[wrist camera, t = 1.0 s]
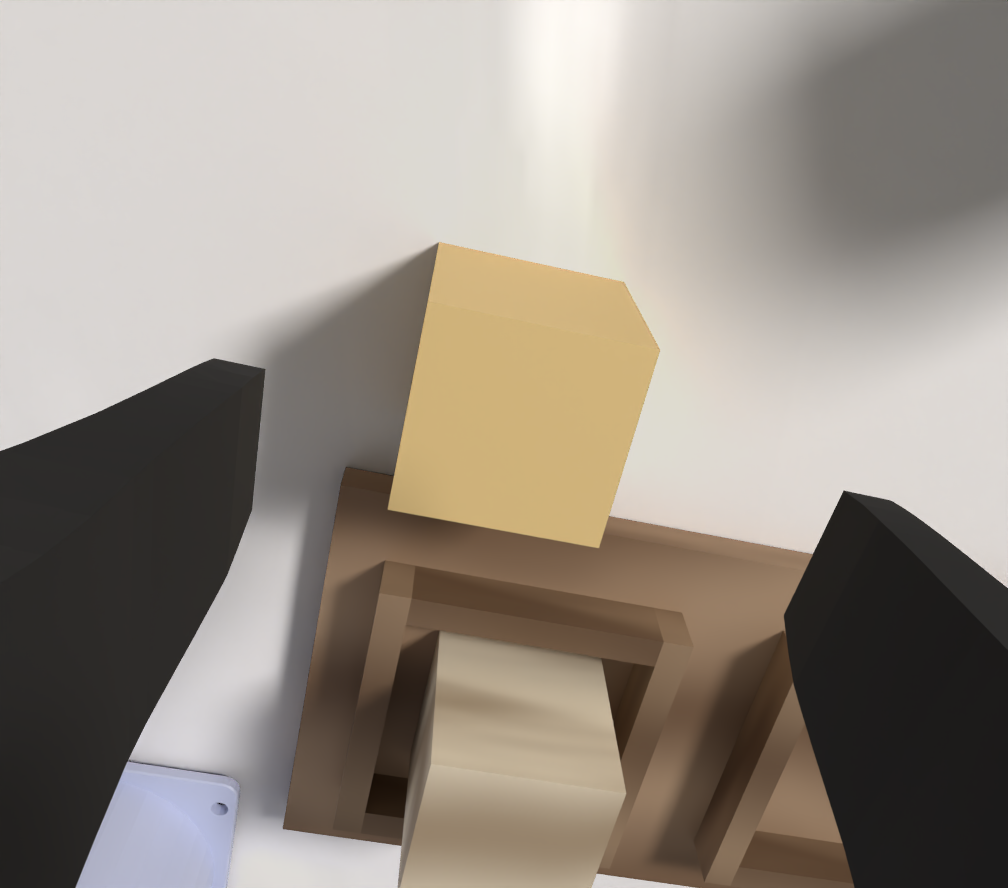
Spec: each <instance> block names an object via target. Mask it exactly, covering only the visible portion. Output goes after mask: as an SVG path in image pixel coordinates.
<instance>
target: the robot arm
mask: <svg viewBox="0 0 1008 888" xmlns="http://www.w3.org/2000/svg"><path fill="white" fill-rule="evenodd" d="M264 377H265V369H262V368H257V367H252V366H248V365H243V364H238V363H233V362H228V361H224V360H219V359H211V360H209V361H206V362H203V363H201V364H199V365H197V366H194V367H192V368H190V369H188V370H186V371H184V372H182V373H180V374H178V375H176V376H174V377H171V378H169V379H167V380H165V381H163V382H161V383H159V384H157V385H155V386H153V387H151V388H149V389H147V390H145V391H142V392H140V393H138V394H136V395H134V396H132V397H130V398H128V399H125V400H123V401H121V402H119V403H117V404H115V405H113V406H111V407H108V408H106V409H104V410H102V411H100V412H98V413H95V414H93V415H90V416H88V417H86V418H83V419H81V420H78V421H76V422H73V423H71V424H68V425H66V426H64V427H61V428H59V429H56V430H54V431H51V432H49V433H46V434H44V435H41V436H39V437H37V438H34V439H32V440H29V441H27V442H24V443H22V444H19V445H16V446H13V447H11V448H8V449H5V450H2V451H0V888H227V883H228V876H229V869H230V862H231V855H232V847H233V840H234V833H235V826H236V819H237V811H238V804H239V797H240V786H239V784H238V783H237V781H235V780H234V779H232V778H230V777H227V776H221V775H214V774H207V773H201V772H194V771H187V770H180V769H173V768H167V767H160V766H153V765H146V764H139V763H133V762H127V761H128V759H129V757H130V755H131V753H132V751H133V749H134V747H135V745H136V743H137V741H138V739H139V737H140V735H141V733H142V731H143V729H144V727H145V724H146V723H147V721H148V719H149V717H150V715H151V713H152V712H153V710H154V708H155V706H156V704H157V703H158V701H159V699H160V697H161V695H162V694H163V692H164V690H165V688H166V686H167V684H168V683H169V681H170V679H171V677H172V675H173V674H174V672H175V670H176V668H177V666H178V665H179V663H180V661H181V659H182V657H183V656H184V654H185V652H186V650H187V648H188V646H189V645H190V643H191V641H192V639H193V637H194V636H195V634H196V632H197V630H198V628H199V627H200V625H201V623H202V621H203V619H204V617H205V615H206V614H207V612H208V610H209V608H210V606H211V604H212V603H213V601H214V599H215V597H216V595H217V593H218V592H219V590H220V588H221V586H222V584H223V582H224V580H225V578H226V576H227V574H228V571H229V569H230V566H231V564H232V561H233V559H234V556H235V553H236V551H237V548H238V546H239V543H240V540H241V538H242V535H243V532H244V530H245V527H246V524H247V521H248V519H249V516H250V513H251V511H252V502H253V492H254V481H255V471H256V461H257V450H258V440H259V429H260V419H261V409H262V398H263V388H264ZM784 623H785V631H786V639H787V647H788V654H789V660H790V666H791V672H792V678H793V684H794V688H795V691H796V695H797V698H798V702H799V705H800V709H801V712H802V715H803V719H804V722H805V725H806V729H807V732H808V735H809V738H810V742H811V745H812V748H813V751H814V754H815V758H816V761H817V764H818V767H819V770H820V774H821V777H822V780H823V783H824V786H825V789H826V793H827V796H828V799H829V802H830V805H831V808H832V812H833V815H834V818H835V821H836V824H837V828H838V831H839V834H840V837H841V840H842V843H843V847H844V850H845V854H846V857H847V861H848V865H849V869H850V872H851V876H852V880H853V884H854V888H1008V588H1007V587H1005V586H1004V585H1003V584H1002V583H1000V582H999V581H998V580H997V579H995V578H994V577H993V576H992V575H990V574H989V573H988V572H987V571H985V570H984V569H983V568H982V567H980V566H979V565H978V564H977V563H975V562H974V561H973V560H972V559H970V558H969V557H968V556H967V555H965V554H964V553H963V552H962V551H960V550H959V549H958V548H957V547H955V546H954V545H953V544H952V543H950V542H949V541H948V540H946V539H945V538H944V537H943V536H941V535H940V534H939V533H937V532H936V531H935V530H933V529H932V528H931V527H929V526H928V525H927V524H925V523H924V522H923V521H921V520H920V519H919V518H917V517H916V516H914V515H913V514H911V513H910V512H908V511H907V510H905V509H904V508H902V507H901V506H899V505H897V504H896V503H894V502H892V501H890V500H886V499H881V498H876V497H871V496H867V495H862V494H857V493H852V492H848V491H843V493H842V495H841V498H840V500H839V502H838V504H837V506H836V508H835V510H834V512H833V514H832V516H831V518H830V520H829V522H828V524H827V526H826V529H825V531H824V533H823V535H822V537H821V539H820V541H819V543H818V545H817V547H816V549H815V551H814V553H813V555H812V557H811V560H810V562H809V564H808V566H807V568H806V570H805V572H804V574H803V576H802V578H801V580H800V582H799V584H798V586H797V588H796V591H795V593H794V595H793V597H792V599H791V601H790V603H789V605H788V607H787V609H786V611H785V613H784ZM217 803H223V804H225V805H220V804H217Z"/></svg>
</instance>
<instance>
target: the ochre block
mask: <svg viewBox="0 0 1008 888" xmlns="http://www.w3.org/2000/svg"><path fill="white" fill-rule="evenodd" d="M659 352H660V349H659V347H658V345H657V343H656V341H655V339H654V337H653V336H652V334H651V332H650V330H649V328H648V326H647V324H646V323H645V321H644V319H643V317H642V315H641V313H640V311H639V309H638V308H637V306H636V304H635V302H634V300H633V298H632V296H631V294H630V293H629V291H628V289H627V287H626V285H625V283H624V282H621V281H616V280H612V279H607V278H602V277H598V276H593V275H589V274H584V273H579V272H575V271H570V270H566V269H561V268H556V267H552V266H547V265H542V264H538V263H533V262H529V261H524V260H519V259H515V258H510V257H505V256H501V255H496V254H492V253H487V252H482V251H478V250H473V249H469V248H464V247H459V246H455V245H450V244H445V243H441V242H439V245H438V250H437V255H436V261H435V266H434V271H433V276H432V281H431V286H430V291H429V297H428V302H427V307H426V312H425V317H424V322H423V328H422V333H421V338H420V343H419V348H418V353H417V358H416V364H415V369H414V374H413V379H412V384H411V389H410V395H409V400H408V405H407V410H406V415H405V420H404V426H403V431H402V436H401V441H400V447H399V452H398V457H397V462H396V468H395V473H394V478H393V483H392V489H391V494H390V499H389V504H388V510H392V511H398V512H403V513H409V514H414V515H420V516H425V517H431V518H436V519H442V520H447V521H453V522H458V523H463V524H469V525H474V526H480V527H485V528H491V529H496V530H502V531H507V532H513V533H518V534H524V535H529V536H535V537H540V538H546V539H551V540H557V541H562V542H568V543H573V544H578V545H584V546H589V547H595V548H599V546H600V543H601V540H602V537H603V533H604V530H605V527H606V524H607V520H608V517H609V514H610V511H611V507H612V504H613V501H614V498H615V494H616V491H617V488H618V485H619V482H620V478H621V475H622V472H623V469H624V465H625V462H626V459H627V456H628V452H629V449H630V446H631V443H632V439H633V436H634V433H635V430H636V426H637V423H638V420H639V417H640V414H641V410H642V407H643V404H644V401H645V397H646V394H647V391H648V388H649V384H650V381H651V378H652V375H653V371H654V368H655V365H656V362H657V359H658V355H659Z"/></svg>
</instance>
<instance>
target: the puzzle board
mask: <svg viewBox="0 0 1008 888" xmlns="http://www.w3.org/2000/svg"><path fill="white" fill-rule="evenodd" d="M393 478H394V476H391V475H385V474H380V473H375V472H369V471H364V470H359V469H353V468H348V467H346V469H345V472H344V476H343V479H342V482H341V486H340V492H339V498H338V504H337V510H336V516H335V522H334V528H333V534H332V539H331V545H330V551H329V557H328V563H327V569H326V575H325V581H324V587H323V593H322V599H321V605H320V611H319V617H318V623H317V629H316V634H315V640H314V646H313V652H312V658H311V664H310V670H309V676H308V682H307V688H306V694H305V700H304V706H303V712H302V718H301V724H300V729H299V735H298V741H297V747H296V753H295V759H294V765H293V771H292V777H291V783H290V789H289V795H288V801H287V807H286V813H285V819H284V824H283V829H287V830H294V831H301V832H308V833H315V834H322V835H329V836H336V837H343V838H350V839H357V840H364V841H371V842H378V843H385V844H393V845H400V846H402V847H401V858H400V868H399V879H398V888H591V887H592V884H593V882H594V879H595V876H596V874H604V875H611V876H618V877H626V878H633V879H640V880H647V881H654V882H661V883H668V884H675V885H682V886H689V887H696V888H854V884H853V880H852V876H851V872H850V869H849V865H848V861H847V857H846V854H845V850H844V847H843V843H842V840H841V837H840V834H839V831H838V828H837V824H836V821H835V818H834V815H833V812H832V808H831V805H830V802H829V799H828V796H827V793H826V789H825V786H824V783H823V780H822V777H821V774H820V770H819V767H818V764H817V761H816V758H815V754H814V751H813V748H812V745H811V742H810V738H809V735H808V732H807V729H806V725H805V722H804V719H803V715H802V712H801V709H800V705H799V702H798V698H797V695H796V691H795V688H794V684H793V678H792V672H791V666H790V660H789V654H788V647H787V639H786V631H785V623H784V613H785V611H786V609H787V607H788V605H789V603H790V601H791V599H792V597H793V595H794V593H795V591H796V588H797V586H798V584H799V582H800V580H801V578H802V576H803V574H804V572H805V570H806V568H807V566H808V564H809V562H810V560H811V557H812V555H813V554H808V553H802V552H797V551H792V550H786V549H781V548H776V547H770V546H765V545H760V544H754V543H749V542H744V541H738V540H733V539H728V538H722V537H717V536H712V535H706V534H701V533H695V532H690V531H685V530H679V529H674V528H669V527H663V526H658V525H653V524H647V523H642V522H637V521H631V520H626V519H621V518H615V517H610V516H609V517H608V520H607V524H606V527H605V530H604V533H603V537H602V540H601V543H600V546H599V548H595V547H589V546H584V545H578V544H573V543H568V542H562V541H557V540H551V539H546V538H540V537H535V536H529V535H524V534H518V533H513V532H507V531H502V530H496V529H491V528H485V527H480V526H474V525H469V524H463V523H458V522H453V521H447V520H442V519H436V518H431V517H425V516H420V515H414V514H409V513H403V512H398V511H392V510H388V504H389V499H390V494H391V489H392V483H393Z"/></svg>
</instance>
